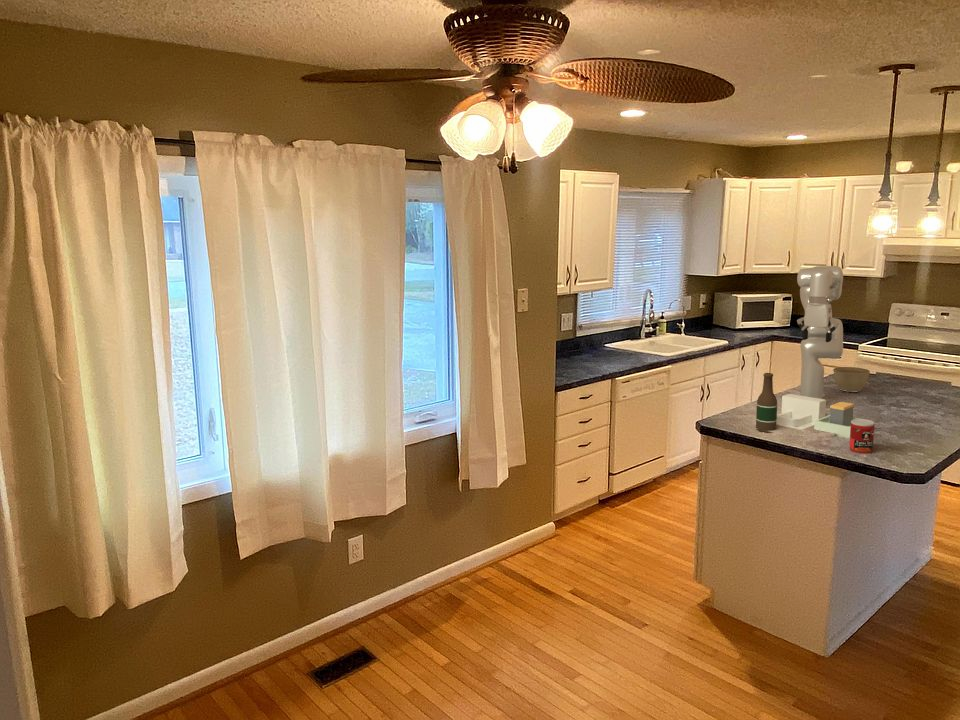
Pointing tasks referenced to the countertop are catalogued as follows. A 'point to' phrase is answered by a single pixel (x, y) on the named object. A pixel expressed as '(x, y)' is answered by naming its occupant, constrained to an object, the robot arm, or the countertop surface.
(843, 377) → the planter bowl
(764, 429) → the beer bottle
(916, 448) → the countertop surface
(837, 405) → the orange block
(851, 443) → the canned food
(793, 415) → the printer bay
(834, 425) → the tray
